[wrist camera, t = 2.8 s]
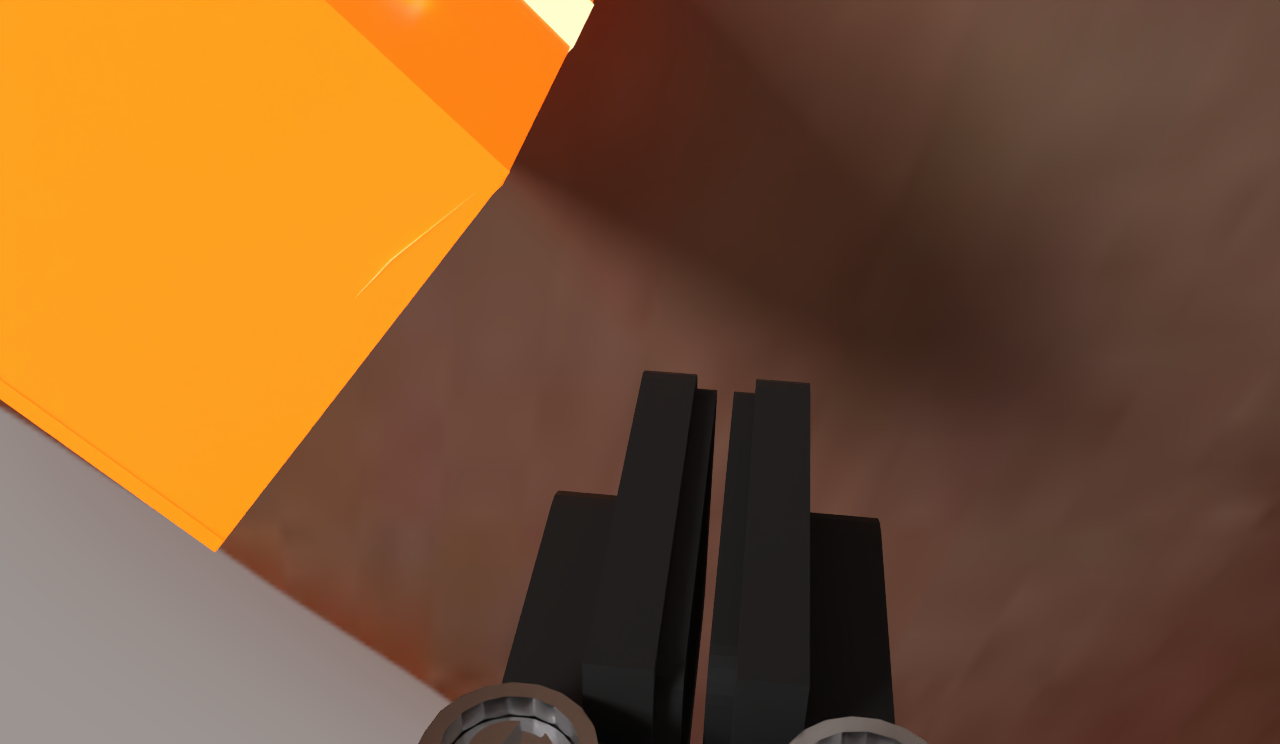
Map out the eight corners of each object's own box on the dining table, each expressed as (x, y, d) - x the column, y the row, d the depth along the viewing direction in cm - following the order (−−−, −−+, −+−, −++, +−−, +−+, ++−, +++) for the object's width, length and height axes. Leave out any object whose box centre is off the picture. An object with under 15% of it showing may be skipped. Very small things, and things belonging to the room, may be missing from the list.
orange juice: (438, 125, 34) (74, 684, 17) (172, -119, 31) (-568, 273, 14) (637, -77, 30) (414, 390, 14) (356, -376, 27) (-355, -241, 11)
